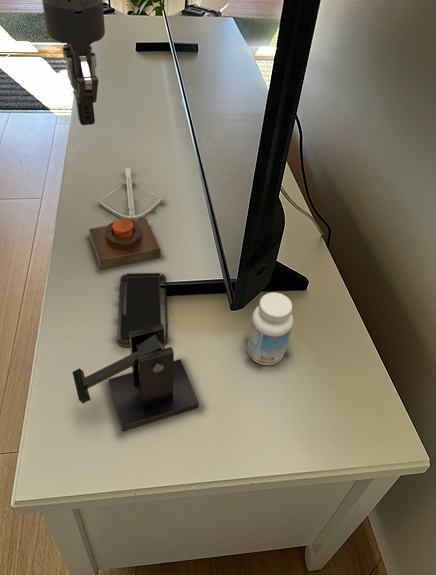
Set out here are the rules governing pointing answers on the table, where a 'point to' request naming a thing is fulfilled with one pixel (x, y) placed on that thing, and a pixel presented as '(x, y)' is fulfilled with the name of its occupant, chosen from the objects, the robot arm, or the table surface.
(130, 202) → the crossbow
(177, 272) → the table surface
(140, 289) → the phone
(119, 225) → the button
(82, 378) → the lever
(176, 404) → the bracket
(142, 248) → the button block
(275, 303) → the pill bottle
